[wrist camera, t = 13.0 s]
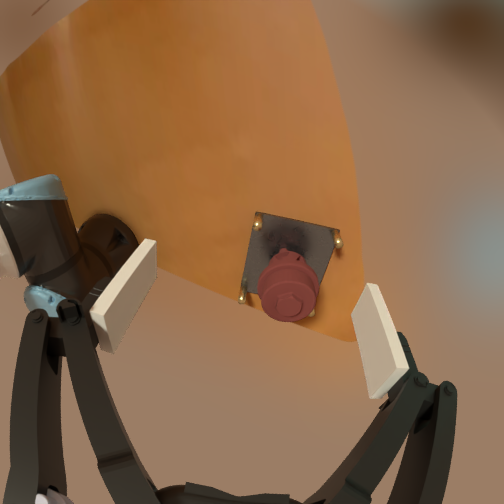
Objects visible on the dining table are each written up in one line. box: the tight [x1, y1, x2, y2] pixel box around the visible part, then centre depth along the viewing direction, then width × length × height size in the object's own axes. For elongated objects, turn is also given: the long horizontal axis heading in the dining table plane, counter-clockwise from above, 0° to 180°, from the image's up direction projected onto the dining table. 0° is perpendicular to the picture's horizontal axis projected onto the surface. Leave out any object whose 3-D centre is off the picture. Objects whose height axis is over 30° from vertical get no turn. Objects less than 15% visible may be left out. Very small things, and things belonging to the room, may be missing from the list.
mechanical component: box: [257, 248, 319, 322], centre depth 46 cm, size 12×10×10 cm
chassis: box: [238, 212, 343, 317], centre depth 50 cm, size 15×17×4 cm
